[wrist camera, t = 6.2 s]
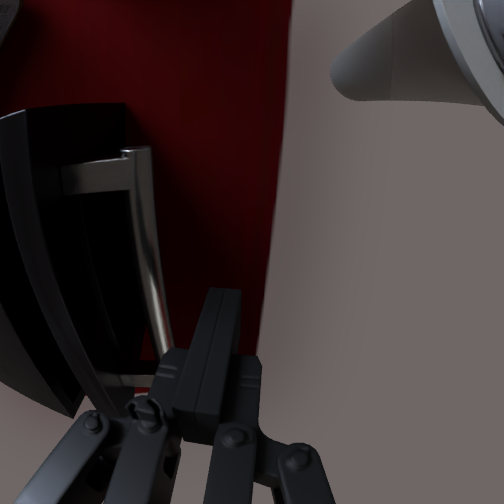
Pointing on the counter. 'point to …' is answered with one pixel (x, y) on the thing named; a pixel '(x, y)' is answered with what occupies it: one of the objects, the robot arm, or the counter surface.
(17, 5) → the tin
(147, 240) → the oven door
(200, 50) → the counter surface
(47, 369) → the oven
